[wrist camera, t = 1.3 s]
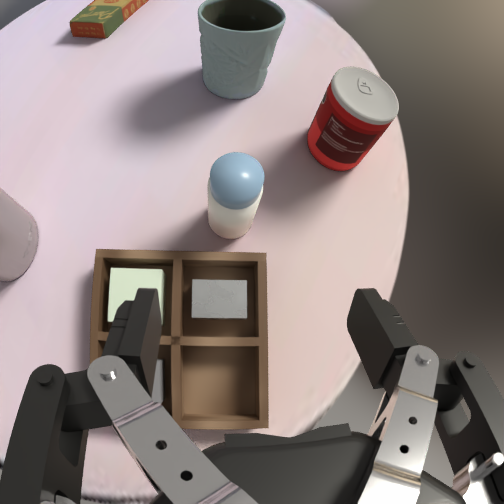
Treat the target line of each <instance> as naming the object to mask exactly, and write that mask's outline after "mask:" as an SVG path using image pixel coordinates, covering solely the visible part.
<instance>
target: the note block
mask: <svg viewBox="0 0 504 504" xmlns="http://www.w3.org/2000/svg"><path fill="white" fill-rule="evenodd" d="M138 288H157V290H158V295H159V303H160V311H161V319H162V326H165V303H166V274H165V273H164V271H163V270H162V269H133V268H111V274H110V287H109V304H108V321H109V322H113V320H114V317H115V314H116V311H117V308H118V307H119V306H120V305H121V304H122V303H123V302H124V301H125V300H132V301H134V299H135V296H136V293H137V290H138Z"/></svg>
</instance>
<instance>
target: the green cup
mask: <svg viewBox="0 0 504 504" xmlns="http://www.w3.org/2000/svg"><path fill="white" fill-rule="evenodd" d="M198 20H199V31H200V33H201V37H200V43H201V44H200V46H201V53H202V56H201V59H202V72H203V81H204V83H205V86H206V87H207V88H208V90H209V91H211V92H212V93H213V94H215V95H217V96H220V97H223V98H227V99H243V98H247V97H250V96H252V95H254V94H256V93H257V92H258V91H259V90H260V89H261V88H262V86H263V84H264V81H265V78H266V75H267V67H268V66H269V64H270V62H271V59H272V56H273V53H274V49H275V46H276V43H277V40H278V38H279V36H280V33H281V31H282V28H283V26H284V23H285V20H286V15H285V12H284V11H283V9H282V8H281V7H280V6H278V5H277V4H276V3H274V2H272V1H270V0H206V1H205V2H203V3H202V4H201V5H200V7H199V9H198Z"/></svg>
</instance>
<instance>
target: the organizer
mask: <svg viewBox="0 0 504 504" xmlns="http://www.w3.org/2000/svg"><path fill="white" fill-rule="evenodd" d="M111 268H133V269H162V270H163V271H164V273H165V274H166V303H165V326H162V332H161V339H160V345H159V351H158V357H157V359H165V400H164V401H163V402H162V403H161V405H162V406H163V407H164V408H165V410H166V411H167V412H168V413H169V414H170V416H171V417H172V418H173V419H174V421H175V422H176V423H177V424H178V425H179V427H180V428H181V429H257V428H268V322H267V266H266V253H247V252H202V251H159V250H115V249H96V255H95V264H94V275H93V287H92V303H91V325H90V364H91V363H92V362H93V361H94V360H96V359H97V358H99V357H101V355H102V352H103V349H104V346H105V343H106V340H107V337H108V334H109V331H110V328H111V325H112V322H109V321H108V304H109V287H110V274H111ZM192 279H200V280H247V319H245V320H210V319H193V318H192Z"/></svg>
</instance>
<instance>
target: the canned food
mask: <svg viewBox="0 0 504 504" xmlns="http://www.w3.org/2000/svg"><path fill="white" fill-rule="evenodd" d="M398 110H399V104H398V100H397V97H396V95H395V93H394V92H393V90H392V89H391V88H390V86H389V85H388V84H387V83H386V82H385V81H384V80H383V79H381V78H380V77H379V76H377V75H376V74H374V73H372V72H370V71H368V70H366V69H362V68H359V67H344V68H341V69H339V70H338V71H337V72H336V73H335V75H334V76H333V78H332V80H331V82H330V84H329V86H328V88H327V90H326V93H325V95H324V97H323V99H322V101H321V104H320V106H319V108H318V110H317V113H316V115H315V117H314V119H313V121H312V124H311V126H310V128H309V131H308V147H309V149H310V152H311V154H312V155H313V157H314V158H315V159H316V160H317V161H318V162H319V163H320V164H322V165H323V166H325V167H327V168H329V169H332V170H336V171H346V170H349V169H351V168H353V167H355V166H357V165H358V164H359V163H360V162H361V160H362V159H363V158H364V157H365V155H366V154H367V153H368V152H369V150H370V149H371V148H372V147H373V145H374V144H375V143H376V142H377V140H378V139H379V138H380V137H381V135H382V134H383V133H384V132H385V130H386V129H387V128H388V127H389V125H390V124H391V122H392V121H393V120H394V118H395V117H396V115H397V113H398Z"/></svg>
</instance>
